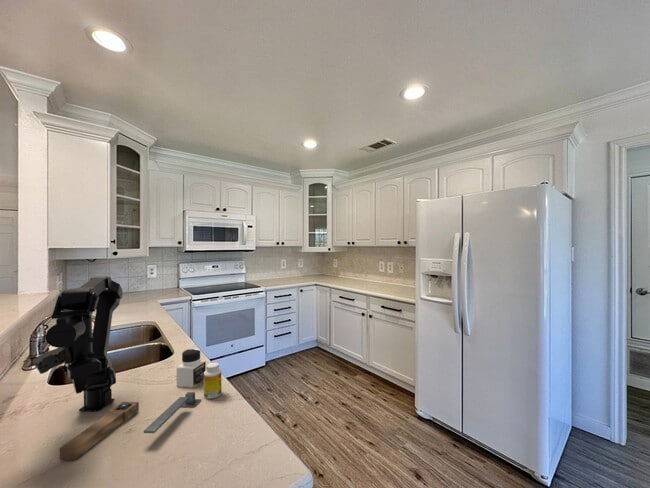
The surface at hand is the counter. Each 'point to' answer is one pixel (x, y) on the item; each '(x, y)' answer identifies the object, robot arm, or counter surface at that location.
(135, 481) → the counter surface
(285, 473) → the counter surface
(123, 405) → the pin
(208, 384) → the supplement bottle
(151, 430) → the grey flat bar piece
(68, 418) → the counter surface
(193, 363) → the medicine bottle
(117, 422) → the tan wooden bar
